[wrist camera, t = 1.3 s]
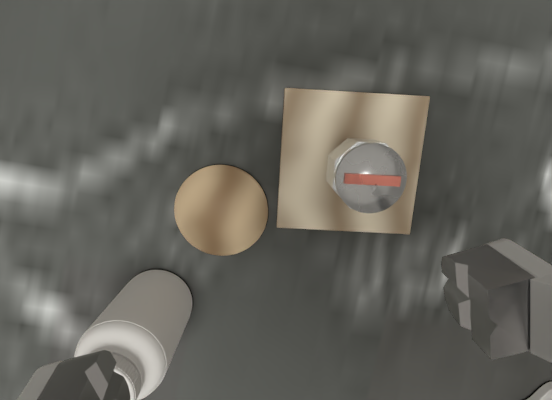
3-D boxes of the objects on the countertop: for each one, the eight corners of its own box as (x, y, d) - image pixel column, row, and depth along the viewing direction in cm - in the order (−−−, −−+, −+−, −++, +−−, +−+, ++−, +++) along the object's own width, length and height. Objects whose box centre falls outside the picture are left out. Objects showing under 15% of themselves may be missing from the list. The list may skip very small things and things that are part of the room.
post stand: (421, 97, 38) (466, 93, 29) (403, 228, 41) (438, 260, 33) (284, 88, 38) (288, 82, 29) (276, 222, 41) (277, 252, 32)
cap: (390, 140, 34) (413, 146, 29) (383, 200, 35) (403, 216, 30) (329, 136, 34) (340, 142, 28) (324, 197, 35) (333, 212, 30)
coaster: (270, 167, 40) (270, 168, 39) (265, 255, 42) (265, 257, 41) (175, 162, 39) (173, 162, 39) (175, 251, 42) (174, 253, 41)
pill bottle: (139, 255, 42) (68, 333, 27) (205, 285, 43) (170, 376, 28) (113, 313, 43) (33, 416, 29) (177, 340, 44) (130, 453, 30)
